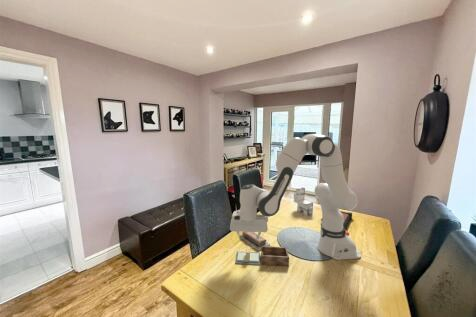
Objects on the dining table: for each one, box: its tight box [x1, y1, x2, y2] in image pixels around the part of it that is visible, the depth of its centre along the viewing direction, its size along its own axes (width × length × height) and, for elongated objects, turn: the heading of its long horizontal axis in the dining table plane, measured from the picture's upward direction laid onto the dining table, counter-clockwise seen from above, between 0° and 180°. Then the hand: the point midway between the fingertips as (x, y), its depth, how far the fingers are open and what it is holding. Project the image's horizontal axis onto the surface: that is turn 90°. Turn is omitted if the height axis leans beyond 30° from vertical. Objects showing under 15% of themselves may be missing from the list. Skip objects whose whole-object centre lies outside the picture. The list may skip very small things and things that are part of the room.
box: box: [260, 245, 290, 267], centre depth 107 cm, size 14×9×5 cm, turn 85°
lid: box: [237, 246, 260, 262], centre depth 109 cm, size 12×7×5 cm, turn 85°
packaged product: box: [241, 232, 271, 252], centre depth 125 cm, size 18×5×10 cm
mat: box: [235, 251, 261, 266], centre depth 109 cm, size 13×10×1 cm
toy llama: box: [293, 187, 314, 217], centre depth 168 cm, size 8×18×20 cm, turn 25°
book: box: [320, 210, 353, 231], centre depth 152 cm, size 26×18×5 cm
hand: (248, 238), depth 107 cm, fingers open, 8 cm apart
